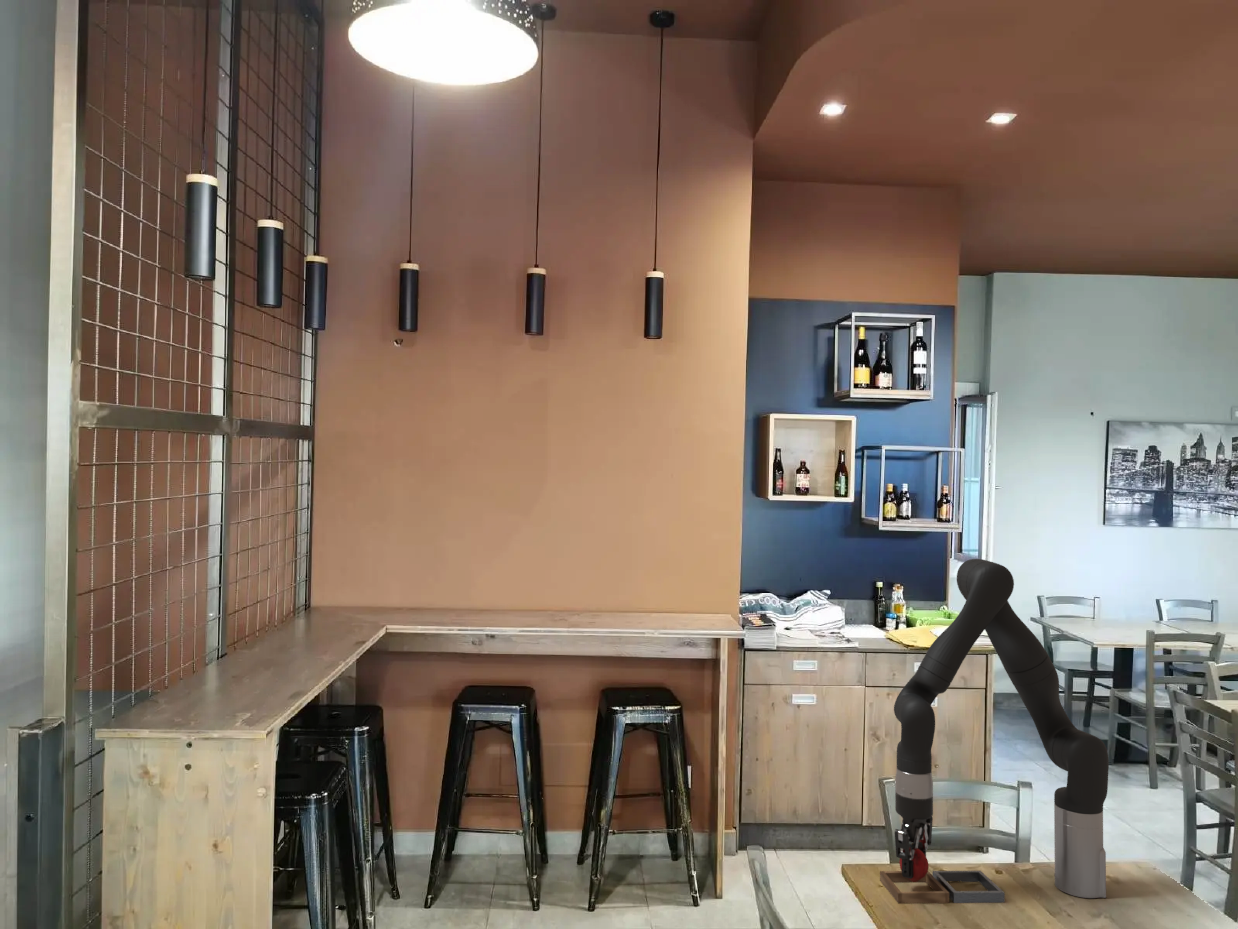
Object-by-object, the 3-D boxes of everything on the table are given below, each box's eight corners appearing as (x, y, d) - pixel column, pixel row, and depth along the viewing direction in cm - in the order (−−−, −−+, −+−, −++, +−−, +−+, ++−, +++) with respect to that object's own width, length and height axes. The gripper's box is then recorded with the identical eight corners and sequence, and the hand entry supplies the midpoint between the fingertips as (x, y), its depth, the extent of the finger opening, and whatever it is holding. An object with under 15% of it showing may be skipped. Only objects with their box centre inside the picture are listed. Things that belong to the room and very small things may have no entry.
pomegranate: (930, 889, 179) (930, 850, 179) (901, 887, 180) (901, 847, 181) (926, 877, 185) (926, 839, 185) (897, 875, 186) (898, 837, 186)
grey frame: (980, 880, 189) (980, 870, 189) (1004, 902, 178) (1004, 892, 178) (932, 880, 188) (932, 871, 188) (953, 903, 177) (953, 893, 178)
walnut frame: (928, 880, 188) (928, 871, 188) (949, 903, 177) (949, 893, 178) (879, 880, 187) (879, 871, 188) (898, 903, 177) (898, 893, 177)
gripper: (917, 804, 175) (917, 889, 175) (945, 787, 186) (945, 867, 185) (882, 795, 180) (882, 878, 180) (911, 779, 191) (911, 857, 190)
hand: (914, 872), depth 183 cm, fingers closed on pomegranate, 6 cm apart
